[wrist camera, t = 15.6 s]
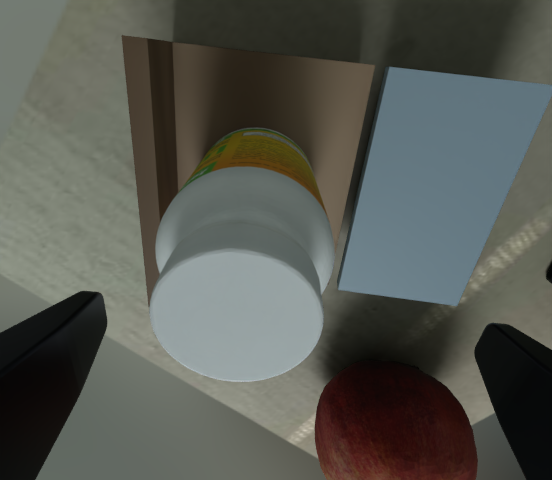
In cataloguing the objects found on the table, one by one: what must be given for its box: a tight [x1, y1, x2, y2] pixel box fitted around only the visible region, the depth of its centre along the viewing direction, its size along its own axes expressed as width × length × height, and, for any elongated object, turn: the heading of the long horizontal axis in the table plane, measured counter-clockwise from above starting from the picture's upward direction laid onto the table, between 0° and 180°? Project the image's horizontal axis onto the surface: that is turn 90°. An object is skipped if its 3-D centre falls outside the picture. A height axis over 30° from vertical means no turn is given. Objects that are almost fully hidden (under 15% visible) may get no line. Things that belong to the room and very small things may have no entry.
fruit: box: [315, 360, 478, 480], centre depth 23 cm, size 11×10×10 cm
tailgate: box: [337, 67, 552, 306], centre depth 16 cm, size 1×11×6 cm
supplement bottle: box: [149, 128, 335, 382], centre depth 12 cm, size 5×5×10 cm
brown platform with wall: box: [122, 35, 375, 307], centre depth 16 cm, size 9×11×6 cm
